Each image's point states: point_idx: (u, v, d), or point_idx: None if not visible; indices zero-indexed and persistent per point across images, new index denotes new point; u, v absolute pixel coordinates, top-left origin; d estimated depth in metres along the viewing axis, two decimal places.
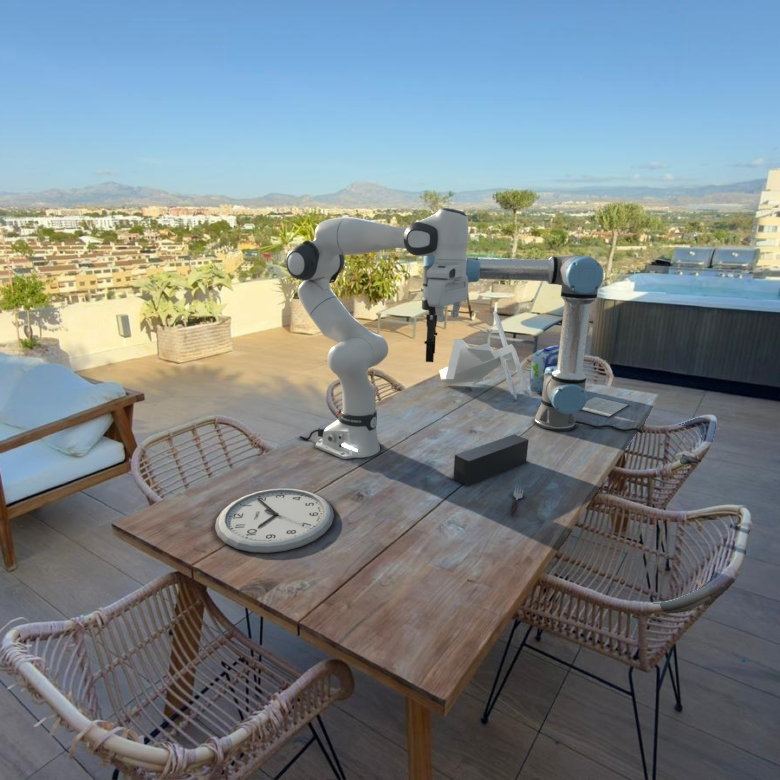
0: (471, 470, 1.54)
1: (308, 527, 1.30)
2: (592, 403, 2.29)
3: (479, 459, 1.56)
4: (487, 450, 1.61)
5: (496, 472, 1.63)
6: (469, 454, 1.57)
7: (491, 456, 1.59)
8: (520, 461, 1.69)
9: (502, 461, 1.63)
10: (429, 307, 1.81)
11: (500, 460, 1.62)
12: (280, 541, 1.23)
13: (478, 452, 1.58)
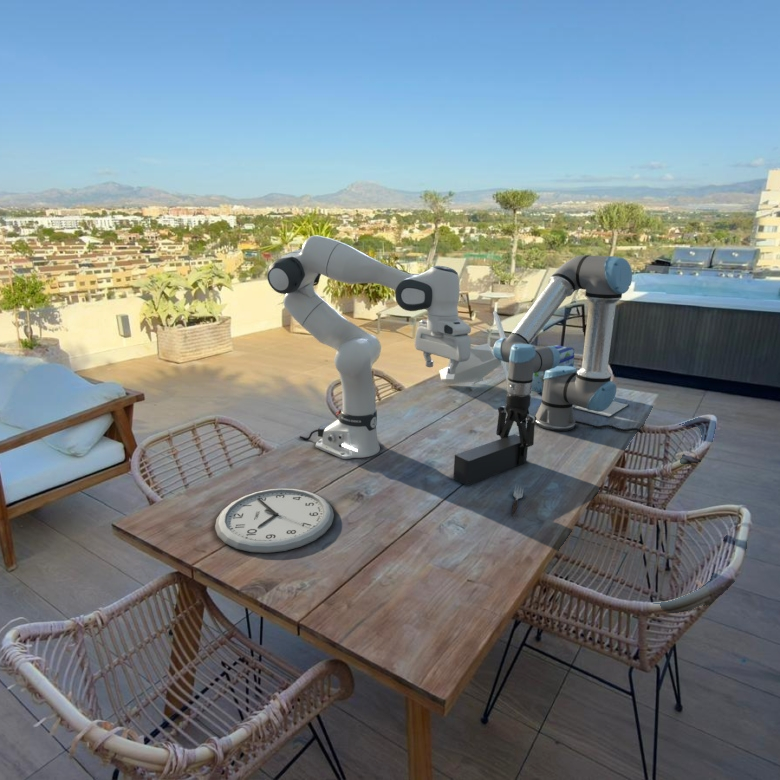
0: (471, 470, 1.54)
1: (308, 527, 1.30)
2: None
3: (479, 459, 1.56)
4: (487, 450, 1.61)
5: (496, 472, 1.63)
6: (469, 454, 1.57)
7: (491, 456, 1.59)
8: None
9: (502, 461, 1.63)
10: (525, 405, 1.62)
11: (500, 460, 1.62)
12: (280, 541, 1.23)
13: (478, 452, 1.58)
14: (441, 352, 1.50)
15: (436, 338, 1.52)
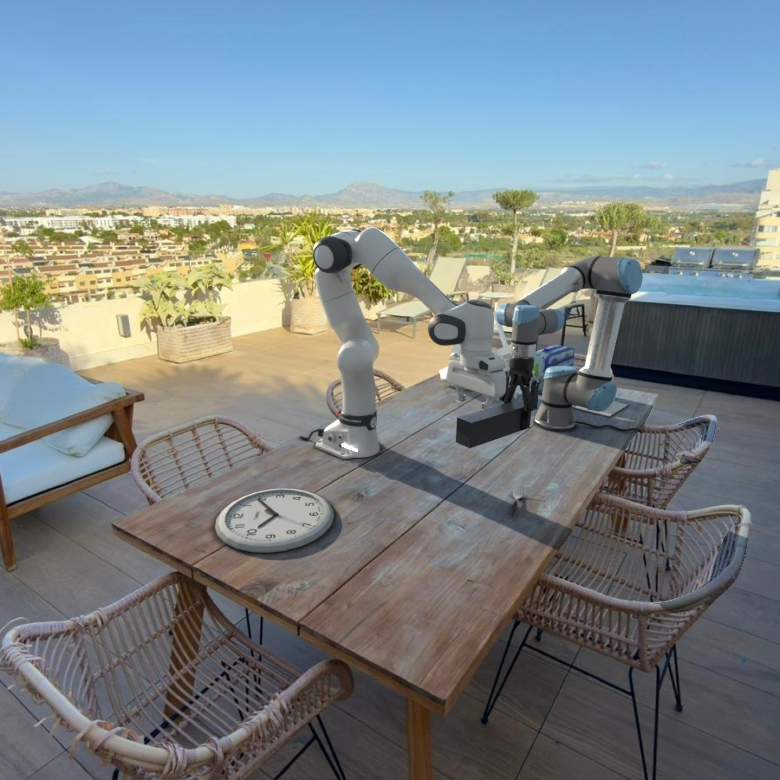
0: (474, 433, 1.51)
1: (308, 527, 1.30)
2: None
3: (482, 421, 1.52)
4: (490, 413, 1.57)
5: (499, 436, 1.59)
6: (472, 417, 1.54)
7: (494, 419, 1.55)
8: None
9: (506, 426, 1.60)
10: (529, 367, 1.58)
11: (503, 424, 1.59)
12: (280, 541, 1.23)
13: (481, 415, 1.55)
14: (476, 388, 1.48)
15: (470, 373, 1.49)
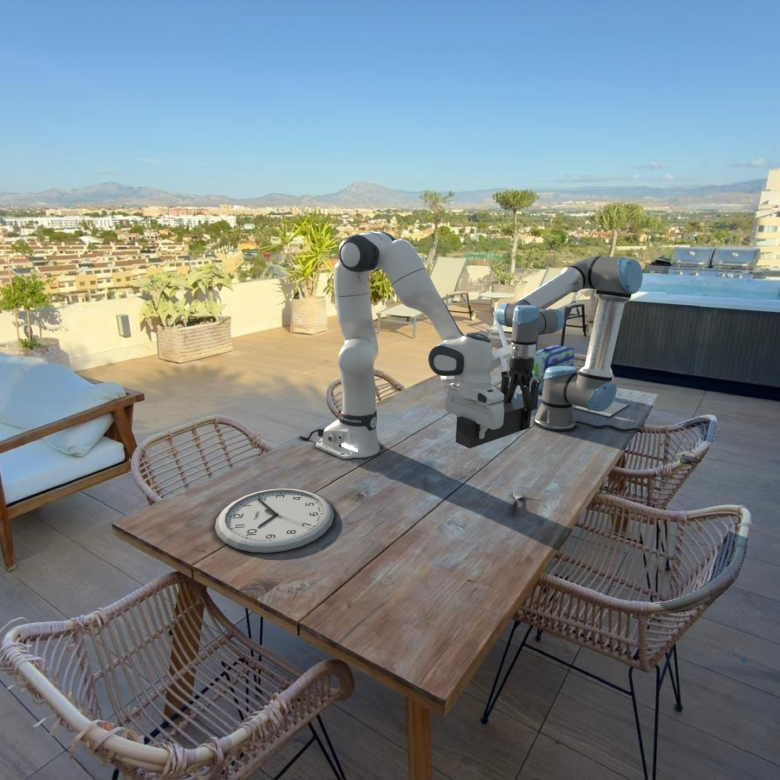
0: (473, 433, 1.51)
1: (308, 527, 1.30)
2: None
3: None
4: None
5: (499, 436, 1.59)
6: None
7: None
8: None
9: (506, 426, 1.60)
10: (529, 367, 1.58)
11: (503, 424, 1.59)
12: (280, 541, 1.23)
13: None
14: (474, 418, 1.50)
15: (468, 403, 1.51)
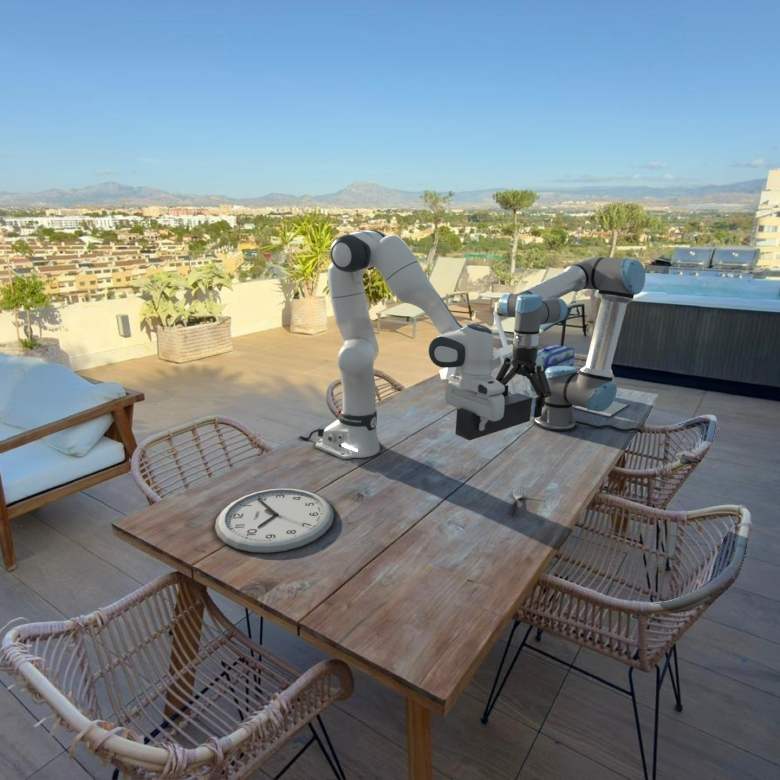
0: (473, 425, 1.50)
1: (308, 527, 1.30)
2: None
3: None
4: None
5: (499, 429, 1.58)
6: None
7: None
8: (523, 419, 1.65)
9: (506, 418, 1.59)
10: (532, 357, 1.58)
11: (503, 416, 1.58)
12: (280, 541, 1.23)
13: None
14: (474, 410, 1.50)
15: (468, 395, 1.51)
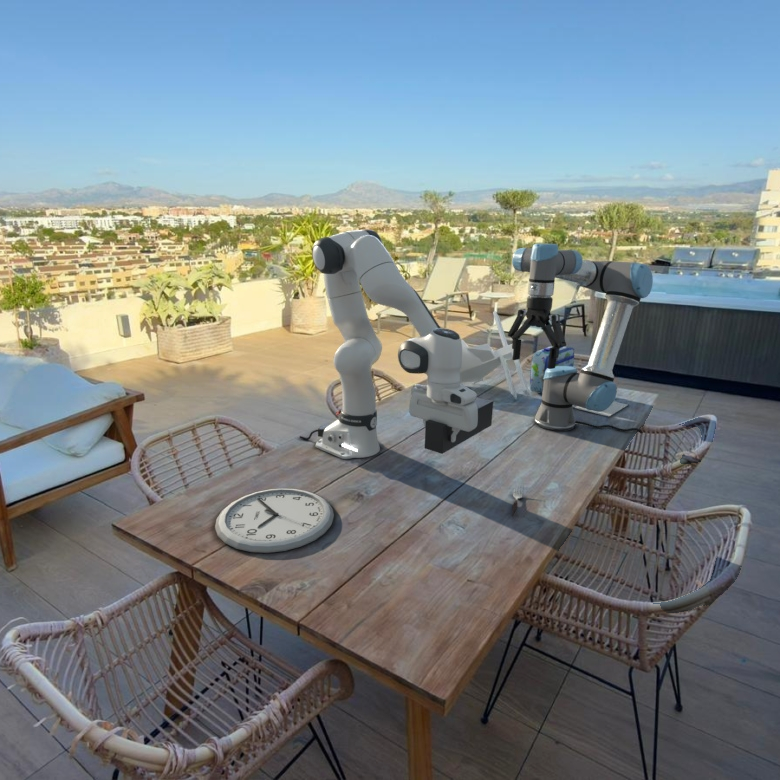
0: (445, 437, 1.40)
1: (308, 527, 1.30)
2: None
3: None
4: None
5: (467, 437, 1.50)
6: None
7: None
8: (486, 425, 1.59)
9: None
10: (547, 306, 1.57)
11: None
12: (280, 541, 1.23)
13: None
14: (445, 421, 1.39)
15: (437, 405, 1.40)
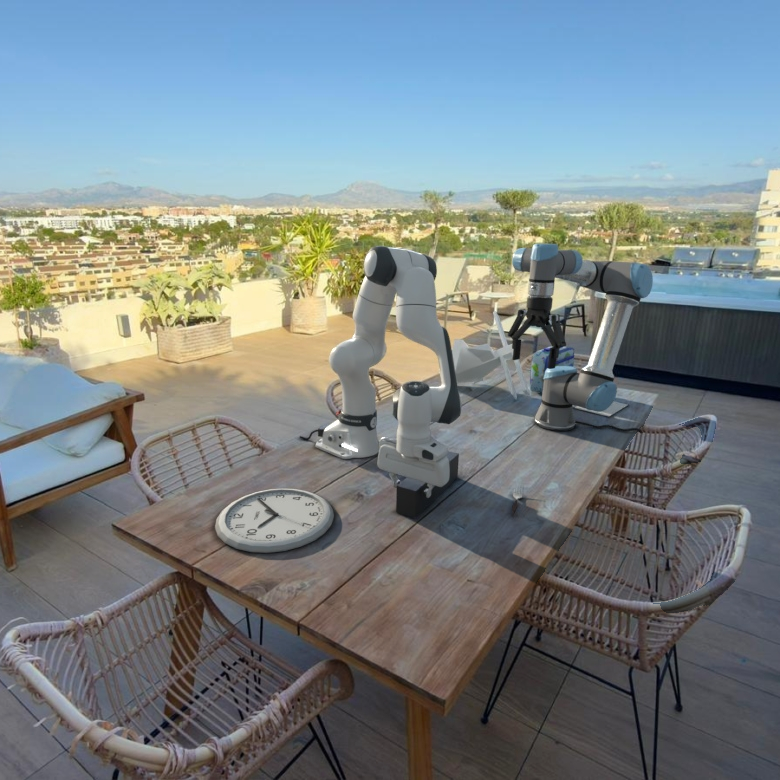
0: (418, 501, 1.37)
1: (308, 527, 1.30)
2: None
3: (424, 486, 1.39)
4: None
5: (436, 495, 1.48)
6: (412, 482, 1.39)
7: None
8: (453, 478, 1.57)
9: None
10: (547, 306, 1.57)
11: None
12: (280, 541, 1.23)
13: None
14: (416, 476, 1.36)
15: (408, 460, 1.36)
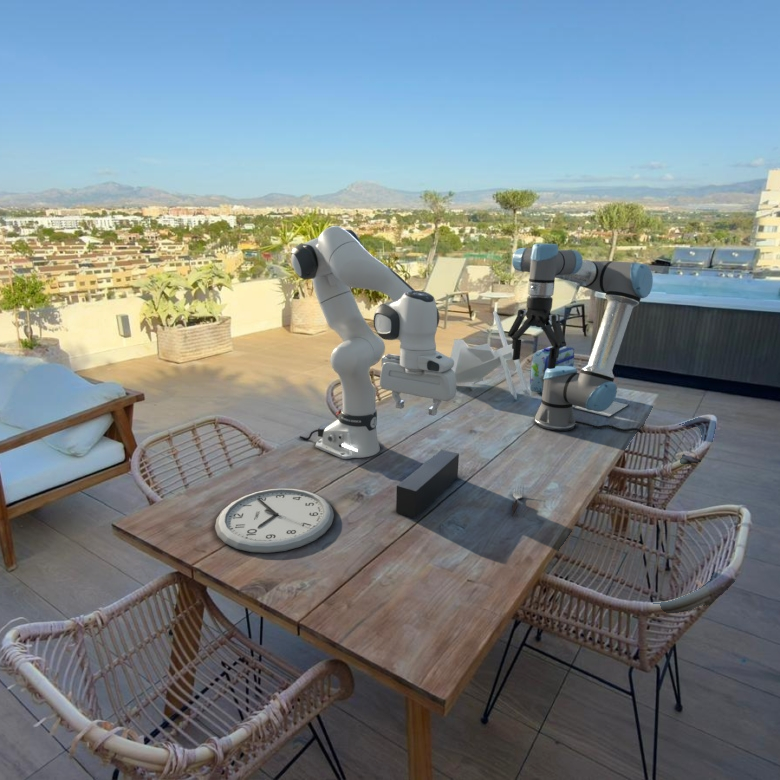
0: (418, 501, 1.37)
1: (308, 527, 1.30)
2: None
3: (424, 486, 1.39)
4: (427, 473, 1.45)
5: (436, 495, 1.48)
6: (412, 482, 1.39)
7: (432, 479, 1.43)
8: (453, 478, 1.57)
9: (441, 483, 1.49)
10: (547, 306, 1.57)
11: (439, 482, 1.48)
12: (280, 541, 1.23)
13: (420, 478, 1.42)
14: (421, 392, 1.29)
15: (412, 375, 1.29)
